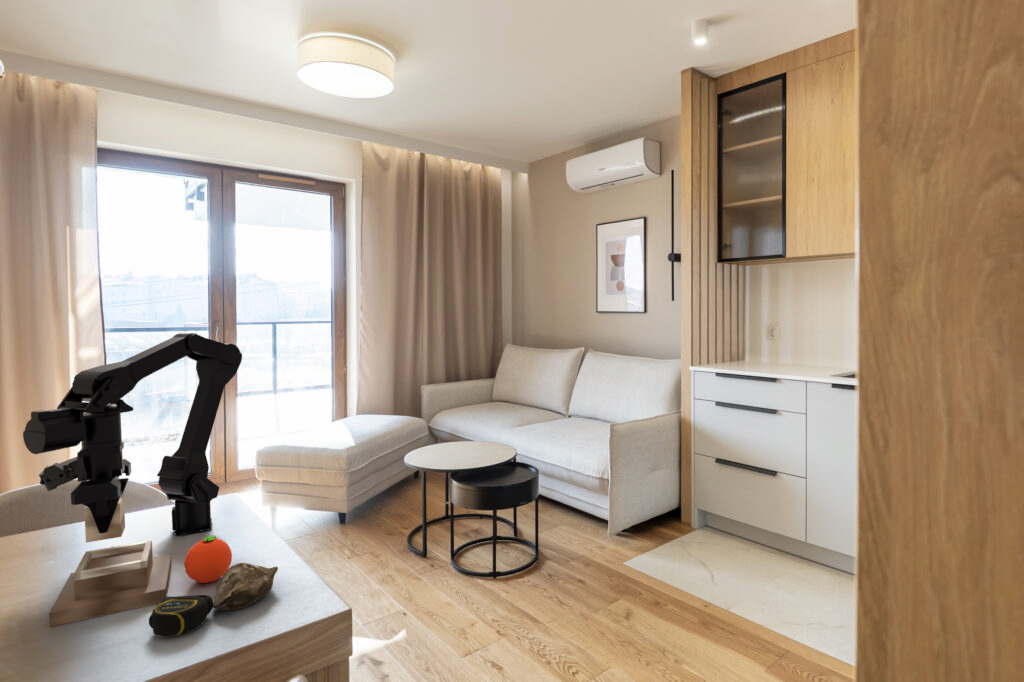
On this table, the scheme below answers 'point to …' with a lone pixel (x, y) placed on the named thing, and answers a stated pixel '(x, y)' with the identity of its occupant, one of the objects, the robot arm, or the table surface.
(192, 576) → the clementine
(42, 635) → the table surface
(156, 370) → the robot arm
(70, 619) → the tower base
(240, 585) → the fossilized seashell
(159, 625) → the tape measure
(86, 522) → the maple block
